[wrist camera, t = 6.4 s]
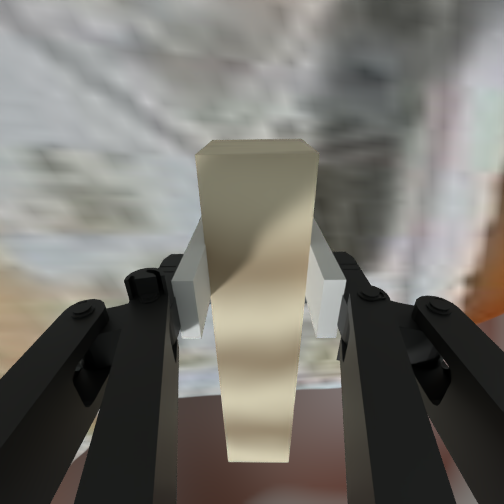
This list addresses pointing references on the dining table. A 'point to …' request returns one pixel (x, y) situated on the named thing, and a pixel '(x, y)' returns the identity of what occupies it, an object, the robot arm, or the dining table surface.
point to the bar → (257, 282)
